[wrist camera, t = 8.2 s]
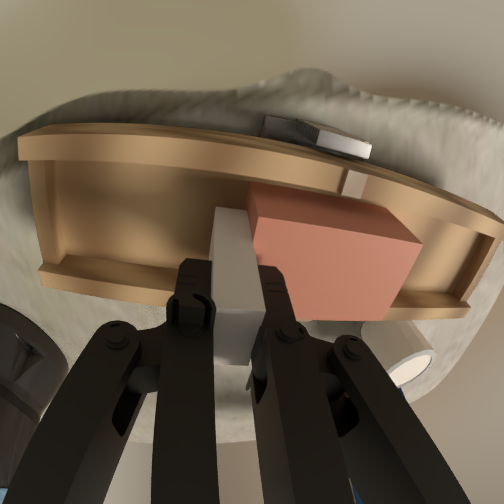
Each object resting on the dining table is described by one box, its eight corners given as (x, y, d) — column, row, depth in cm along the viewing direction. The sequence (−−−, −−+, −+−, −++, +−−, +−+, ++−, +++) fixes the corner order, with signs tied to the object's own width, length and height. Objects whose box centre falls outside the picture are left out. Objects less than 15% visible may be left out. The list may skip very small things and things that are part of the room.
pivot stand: (234, 262, 22) (238, 306, 18) (265, 111, 16) (280, 120, 12) (318, 271, 23) (336, 311, 19) (363, 137, 17) (401, 155, 13)
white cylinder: (371, 300, 26) (400, 354, 20) (418, 300, 27) (448, 346, 21) (346, 344, 30) (365, 395, 24) (391, 341, 31) (413, 386, 25)
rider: (233, 264, 16) (236, 315, 13) (250, 181, 14) (258, 216, 10) (356, 277, 17) (381, 321, 14) (386, 208, 15) (423, 244, 12)
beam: (62, 256, 16) (40, 288, 13) (50, 124, 11) (15, 138, 9) (446, 294, 22) (464, 319, 19) (490, 210, 17) (516, 231, 14)
